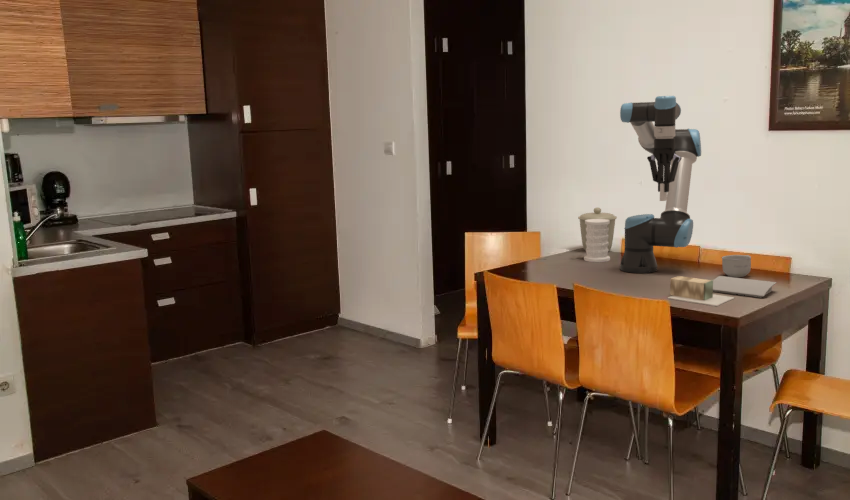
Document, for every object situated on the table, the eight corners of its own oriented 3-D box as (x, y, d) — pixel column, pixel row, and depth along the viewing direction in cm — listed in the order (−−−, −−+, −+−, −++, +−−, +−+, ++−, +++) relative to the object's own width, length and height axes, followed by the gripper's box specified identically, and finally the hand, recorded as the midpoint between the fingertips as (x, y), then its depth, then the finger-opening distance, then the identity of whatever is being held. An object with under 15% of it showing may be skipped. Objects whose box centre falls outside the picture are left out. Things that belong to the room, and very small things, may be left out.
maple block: (670, 278, 269) (705, 283, 260) (678, 275, 273) (713, 280, 264) (670, 294, 270) (705, 300, 261) (678, 291, 274) (712, 297, 265)
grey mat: (667, 298, 267) (667, 297, 267) (685, 291, 276) (686, 290, 276) (716, 306, 254) (716, 305, 254) (734, 298, 264) (734, 297, 264)
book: (717, 284, 288) (718, 274, 287) (781, 292, 272) (781, 281, 272) (701, 292, 276) (702, 282, 276) (767, 300, 261) (767, 290, 260)
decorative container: (579, 258, 344) (579, 219, 341) (601, 256, 348) (601, 218, 345) (592, 263, 334) (592, 223, 330) (615, 260, 337) (615, 221, 334)
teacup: (735, 280, 292) (736, 259, 290) (715, 275, 302) (715, 255, 300) (762, 276, 297) (763, 256, 295) (741, 271, 307) (742, 252, 305)
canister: (617, 254, 352) (617, 209, 348) (578, 254, 355) (578, 210, 352) (615, 247, 369) (615, 205, 365) (578, 247, 373) (578, 205, 369)
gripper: (643, 138, 282) (642, 200, 286) (676, 138, 273) (674, 202, 277) (653, 137, 287) (652, 198, 291) (685, 137, 278) (684, 200, 282)
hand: (663, 200), depth 284 cm, fingers closed
